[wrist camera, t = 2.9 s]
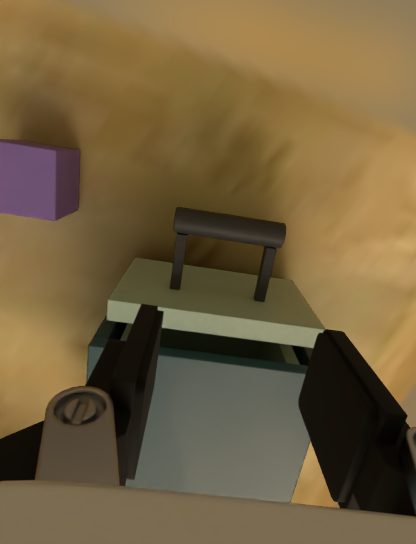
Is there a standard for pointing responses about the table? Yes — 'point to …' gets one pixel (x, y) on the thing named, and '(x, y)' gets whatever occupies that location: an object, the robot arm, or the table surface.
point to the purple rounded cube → (38, 179)
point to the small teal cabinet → (219, 422)
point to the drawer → (219, 295)
